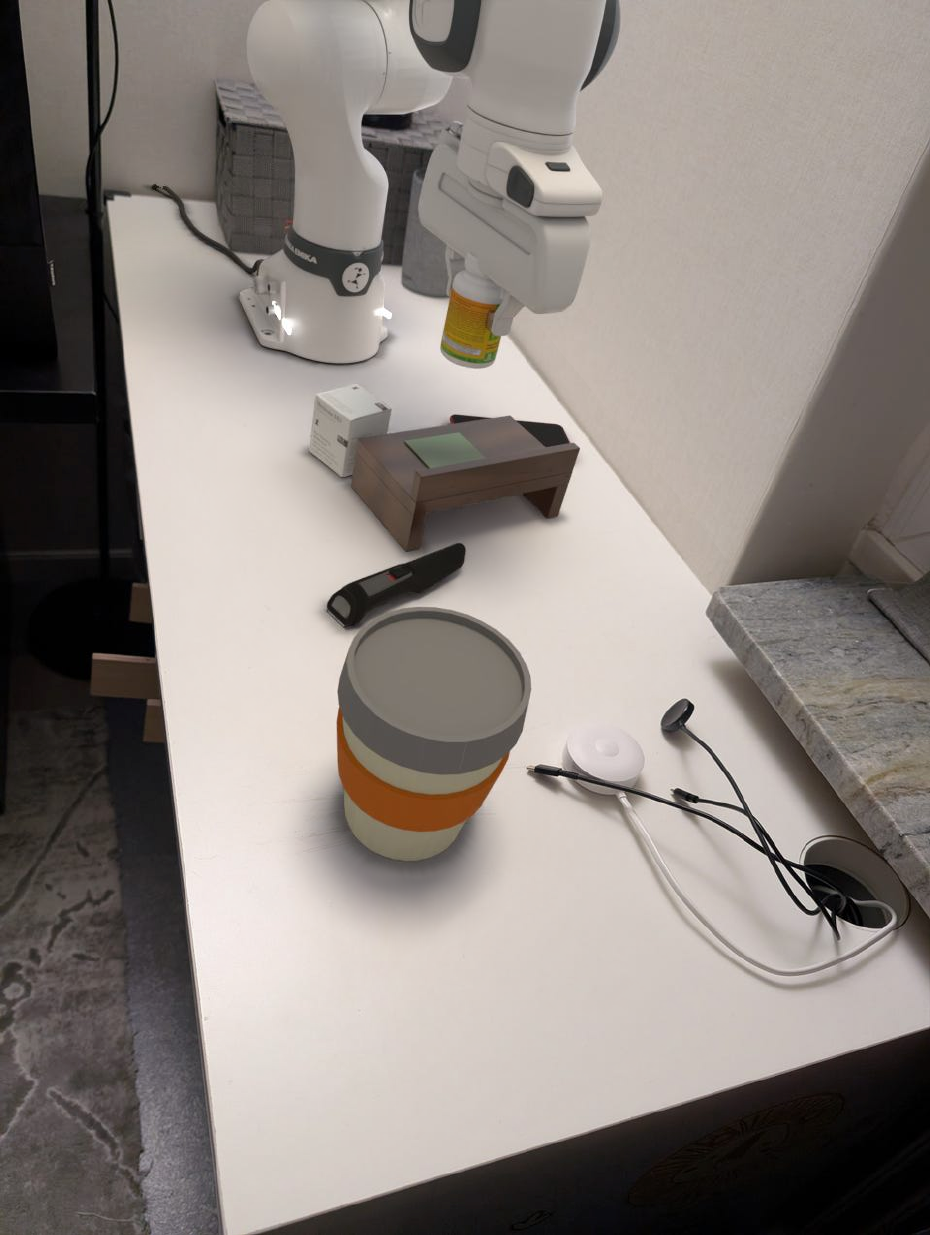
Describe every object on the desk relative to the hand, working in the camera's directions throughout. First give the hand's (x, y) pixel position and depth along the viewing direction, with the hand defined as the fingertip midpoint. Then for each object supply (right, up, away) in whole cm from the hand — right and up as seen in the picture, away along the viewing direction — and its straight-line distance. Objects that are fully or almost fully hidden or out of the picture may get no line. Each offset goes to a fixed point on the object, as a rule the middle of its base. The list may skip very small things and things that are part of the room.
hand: (476, 315), depth 83 cm
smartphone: (+5, -6, +29) cm, 30 cm away
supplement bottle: (-1, -3, +3) cm, 4 cm away
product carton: (-15, -10, +18) cm, 25 cm away
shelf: (-2, -15, +16) cm, 22 cm away
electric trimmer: (-8, -25, +3) cm, 27 cm away
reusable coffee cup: (-6, -42, -15) cm, 45 cm away
